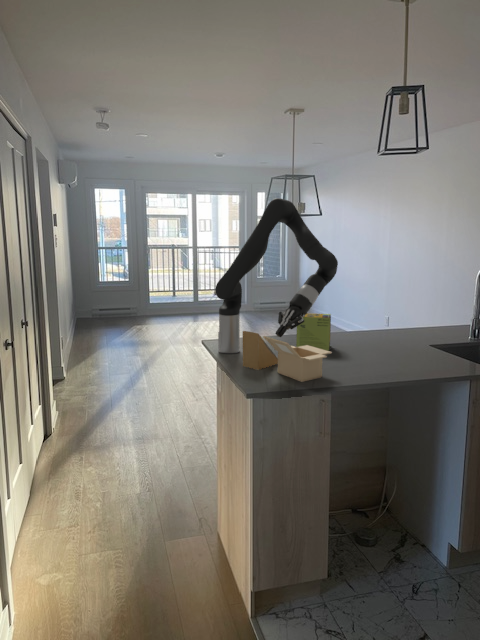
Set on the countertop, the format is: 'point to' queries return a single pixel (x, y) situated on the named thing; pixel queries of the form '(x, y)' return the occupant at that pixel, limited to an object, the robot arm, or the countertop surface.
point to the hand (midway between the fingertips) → (278, 335)
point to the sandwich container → (257, 352)
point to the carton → (302, 363)
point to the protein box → (314, 331)
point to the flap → (282, 347)
